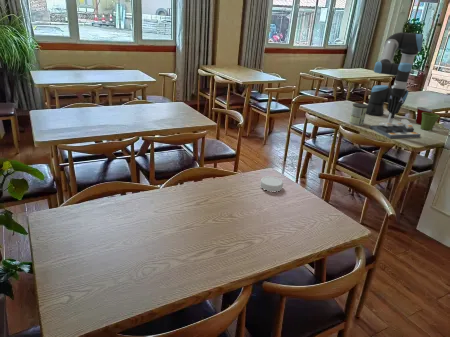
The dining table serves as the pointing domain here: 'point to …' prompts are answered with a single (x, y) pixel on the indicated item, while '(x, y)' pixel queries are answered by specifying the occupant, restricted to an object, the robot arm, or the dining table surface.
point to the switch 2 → (406, 123)
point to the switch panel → (374, 127)
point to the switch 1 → (386, 124)
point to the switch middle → (397, 124)
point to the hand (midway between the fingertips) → (389, 122)
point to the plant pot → (428, 120)
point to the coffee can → (358, 114)
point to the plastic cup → (419, 114)
